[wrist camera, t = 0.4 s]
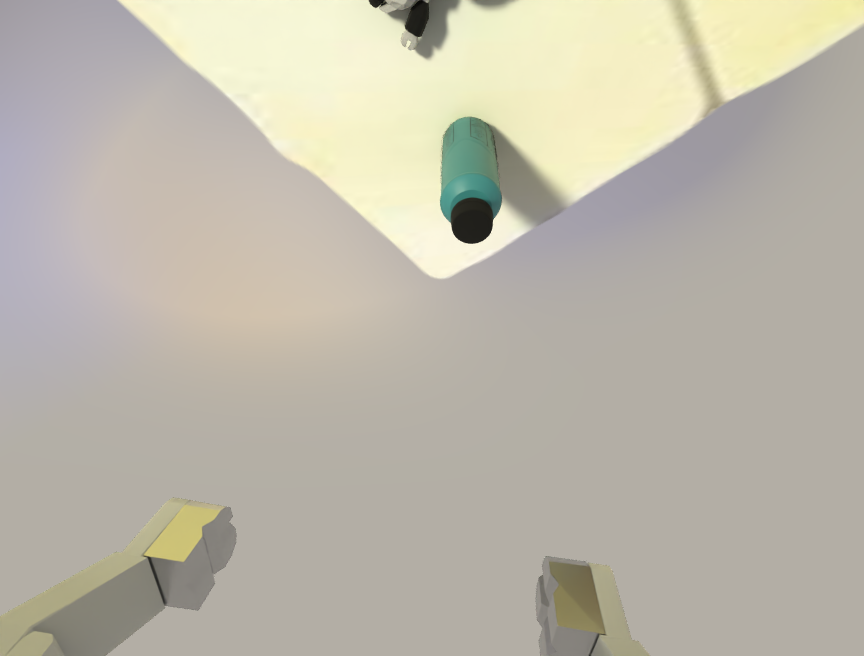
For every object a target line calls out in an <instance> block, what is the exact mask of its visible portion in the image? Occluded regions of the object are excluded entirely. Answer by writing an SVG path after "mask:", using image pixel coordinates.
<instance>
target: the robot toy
mask: <svg viewBox="0 0 864 656" xmlns="http://www.w3.org/2000/svg"><path fill="white" fill-rule="evenodd" d="M383 1H384V0H369V2H370V4H371V5H372V6H373V7H375V8H377V7H379V6H380V5H381V6H380V7H379V9H380V10H382V11H384V12H385V13H389V12H391V11H394V10H396V9H400V10H404V9H406V8H409V7H411V6H412V5H413V3H414V2H415V1H416V0H385V1H384V2H383ZM428 2H429V0H419V1H418V2H417V3H416V4H415V5H414V6H413V7H412V8H411V11H410V13H409V16H408V19H407V21H406V24H405V29H406V31H405V32H404V33H402V37H401V43H402V45H403V46H404V47H405V46H406V42H407V39H408V40H409V41H411V44H410V46H409V47H408V49H409V50H413V49H415V48H416V46H417V45H418V37H421V36H422V34H423V31H424V29H425V26H426V24H427V21H428V19H429V3H428Z"/></svg>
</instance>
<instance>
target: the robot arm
mask: <svg viewBox="0 0 864 656" xmlns="http://www.w3.org/2000/svg"><path fill="white" fill-rule="evenodd" d="M232 517H233V515H232V512H231V508H230V507H225V506H219V505H214V504H209V503H203V502H197V501H193V500H187V499H180V498H172V499H170V500H169V501H167V502H166V503H165V504H164V505H163V506H162V507H161V508H160V510H159V511H158V512H157V513H156V514H155V515H154V516H153V517H152V519H151V520H150V521H149V522H148V523H147V524H146V525H145V527H144V528H143V529H142V530H141V531H140V532H139V534H137V536H136V537H135V538H134V539H133V540H132V541H131V542H130V544H129V545H128V546H127V547H126V548H125V549H124V551H123V552H122V553H120V552H115V553H113V554H111V555H110V556H108V557H106V558H104V559H102V560H101V561H99V562H97V563H95V564H93V565H92V566H90V567H88V568H86V569H85V570H82V571H81V572H79V573H77V574H75V575H73V576H72V577H70V578H68V579H66V580H64V581H63V582H61V583H59V584H57V585H55V586H54V587H52V588H50V589H48V590H46V591H45V592H43V593H41V594H39V595H37V596H36V597H34V598H32V599H30V600H28V601H27V602H25V603H23V604H21V605H19V606H18V607H16V608H14V609H12V610H10V611H8V612H7V613H5V614H3V615H1V616H0V656H106V655H107V654H108V653H109V652H111V651H112V650H113V649H114V648H116V647H117V646H118V645H119V644H121V643H122V642H123V641H124V640H126V639H127V638H128V637H129V636H131V635H132V634H133V633H134V632H136V631H137V630H138V629H139V628H141V627H142V626H143V625H144V624H146V623H147V622H148V621H149V620H151V619H152V618H153V617H154V616H156V615H157V614H158V613H159V612H161V611H162V610H163V609H164V608H165V606H170V607H177V608H184V609H191V610H199V609H200V607H201V605H202V604H203V602H204V601H205V599H206V597H207V595H208V594H209V592H210V591H211V589H212V588H213V586H214V584H215V581H214V574H215V573H217V572H218V571H220V570H221V569H223V568H224V567H225V566H226V564H227V563H228V561H229V559H230V558H231V556H232V553H233V550H234V547H235V544H236V529H235V527H234V526H233V525H232V524H231V523H229V521H230V520H231V518H232ZM542 570H543V575H542V576H540V577H539V579H538V583H537V589H536V615H537V621H538V622H539V623H540V625H541V626H542V631H541V635H540V638H539V647H540V656H650V655H649V653H648V652H647V651H646V650H645V649H644V647H643V646H642V645H641V644H640V642H639V641H635V640H632V638H631V635H630V631H629V628H628V624H627V621H626V617H625V614H624V610H623V607H622V604H621V600H620V596H619V593H618V589H617V586H616V582H615V578H614V575H613V571H612V570H611V568H610V567H609V566H607V565H601V564H593V563H587V562H585V561H577V560H570V559H563V558H556V557H549V556H546V557H545V558H544V561H543V564H542Z"/></svg>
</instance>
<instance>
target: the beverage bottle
mask: <svg viewBox="0 0 864 656" xmlns="http://www.w3.org/2000/svg"><path fill="white" fill-rule="evenodd" d="M449 126H450V127H449V128H448V129H447V130H446V133H445V132H444V133H445V135H443V137H444V138H443V151H442V162H441V163H442V169H441V168H440V169H441V170H442V172H441V173H442V174H441V176H442V178H441V179H442V184H441V198H440V206H441V210H442V213H443V214H444V216H445V217H446V219H447V220H448V221H449V222H451V225H452V231H453V234H454V235H455V237H456V238H457V239H458V240H460V241H462V242H464V243H468V244H474V243H479V242H481V241H483V240H485V239H486V238H487V237H488V236H489V235H490V233H491V231H492V227H493V219H494V218H495V217H496V215H497V214H498V212H499V210H500V207H501V203H502V196H501V191H500V186H499V179H500V173H499V178H498V168H497V160H498V159H497V155H496V154H495V153H496V148H494V146H495V141H493V140H494V136H493V135H492V132H493V131H492V132H491V129H490V128H489V127H488V126H489V125H488V124H487V123H484V122H483V120H482V121H481V119H477V118H475V117H464V118H461V119H458V120H457V121H455V122H453V123H452V124H451V125H449ZM441 146H442V145H441ZM441 149H442V148H441ZM498 167H499V166H498ZM441 170H440V171H441Z"/></svg>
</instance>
